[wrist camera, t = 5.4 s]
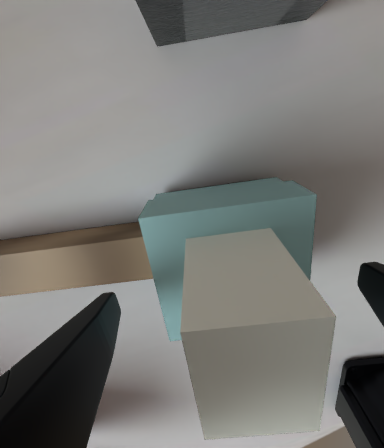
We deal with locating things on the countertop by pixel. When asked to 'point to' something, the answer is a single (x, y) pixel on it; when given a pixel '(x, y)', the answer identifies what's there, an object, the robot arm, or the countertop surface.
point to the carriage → (243, 303)
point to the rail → (73, 259)
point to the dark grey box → (218, 16)
